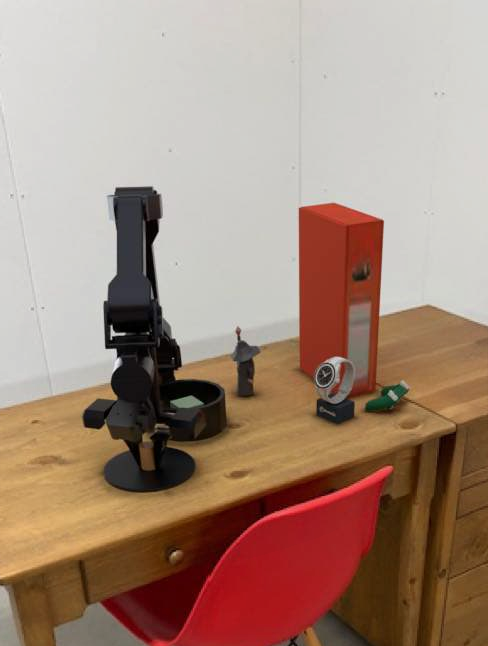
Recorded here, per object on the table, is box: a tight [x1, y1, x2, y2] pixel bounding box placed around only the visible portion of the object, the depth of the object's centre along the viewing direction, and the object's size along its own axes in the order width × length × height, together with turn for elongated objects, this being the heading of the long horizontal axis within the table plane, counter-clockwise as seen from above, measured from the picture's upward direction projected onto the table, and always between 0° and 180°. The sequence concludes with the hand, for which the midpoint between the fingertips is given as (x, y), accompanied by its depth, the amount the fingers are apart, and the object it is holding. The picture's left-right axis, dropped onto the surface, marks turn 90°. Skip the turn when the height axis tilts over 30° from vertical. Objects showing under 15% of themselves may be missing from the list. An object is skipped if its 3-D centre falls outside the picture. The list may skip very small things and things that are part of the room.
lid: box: [102, 440, 196, 493], centre depth 128 cm, size 15×15×5 cm
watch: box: [313, 357, 356, 425], centre depth 143 cm, size 6×8×11 cm
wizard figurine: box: [230, 325, 261, 397], centre depth 153 cm, size 8×6×12 cm
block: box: [170, 396, 204, 409], centre depth 142 cm, size 4×4×4 cm
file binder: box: [298, 202, 385, 399], centre depth 152 cm, size 8×17×32 cm, turn 26°
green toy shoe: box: [364, 379, 410, 412], centre depth 149 cm, size 9×4×6 cm
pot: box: [152, 378, 228, 443], centre depth 141 cm, size 14×14×6 cm
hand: (149, 466), depth 128 cm, fingers closed on lid, 3 cm apart
